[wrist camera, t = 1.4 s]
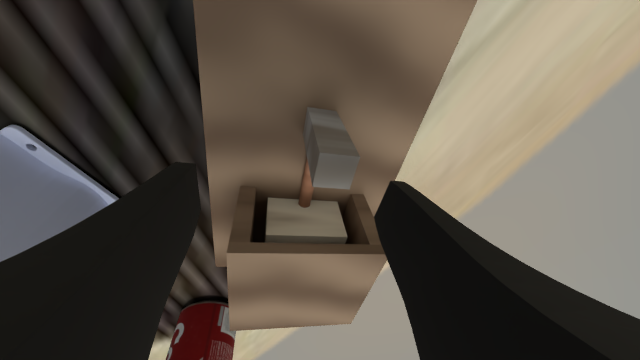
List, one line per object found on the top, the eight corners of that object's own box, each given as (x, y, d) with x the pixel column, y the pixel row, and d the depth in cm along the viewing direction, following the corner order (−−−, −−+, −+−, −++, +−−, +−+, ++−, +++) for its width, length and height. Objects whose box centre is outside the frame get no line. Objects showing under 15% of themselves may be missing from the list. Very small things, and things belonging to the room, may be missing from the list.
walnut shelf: (353, 258, 28) (372, 324, 23) (217, 258, 25) (199, 335, 19) (497, -72, 13) (682, -132, 7) (183, -191, 9) (28, -503, 4)
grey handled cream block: (323, 245, 25) (334, 304, 20) (263, 244, 23) (259, 307, 19) (364, 115, 17) (397, 160, 12) (276, 102, 15) (276, 148, 11)
